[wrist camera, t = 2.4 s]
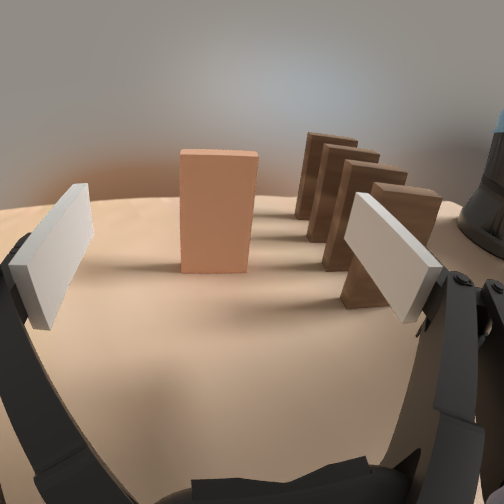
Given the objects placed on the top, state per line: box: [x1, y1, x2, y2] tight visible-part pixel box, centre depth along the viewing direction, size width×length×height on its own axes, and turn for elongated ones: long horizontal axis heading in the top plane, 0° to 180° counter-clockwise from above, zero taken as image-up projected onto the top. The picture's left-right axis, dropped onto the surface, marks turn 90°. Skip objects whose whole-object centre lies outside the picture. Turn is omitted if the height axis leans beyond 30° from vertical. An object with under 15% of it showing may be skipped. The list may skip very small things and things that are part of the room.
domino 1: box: [180, 149, 259, 273], centre depth 27 cm, size 2×6×11 cm, turn 98°
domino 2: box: [295, 132, 358, 220], centre depth 39 cm, size 2×6×11 cm, turn 98°
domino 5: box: [340, 182, 443, 309], centre depth 25 cm, size 2×6×11 cm, turn 98°
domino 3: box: [307, 143, 380, 243], centre depth 34 cm, size 2×6×11 cm, turn 98°
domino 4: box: [322, 159, 408, 272], centre depth 29 cm, size 2×6×11 cm, turn 98°
